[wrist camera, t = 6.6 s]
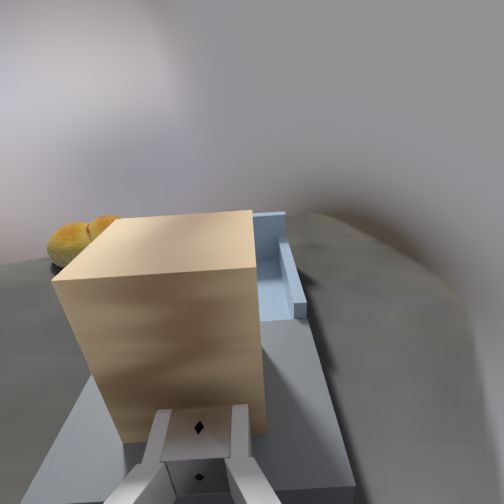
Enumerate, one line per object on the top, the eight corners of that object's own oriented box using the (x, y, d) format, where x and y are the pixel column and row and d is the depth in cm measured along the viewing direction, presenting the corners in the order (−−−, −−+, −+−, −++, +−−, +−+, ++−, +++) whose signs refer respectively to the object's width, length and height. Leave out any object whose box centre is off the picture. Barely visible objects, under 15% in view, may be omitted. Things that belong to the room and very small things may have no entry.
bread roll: (60, 248, 36) (47, 217, 34) (137, 233, 39) (129, 204, 37) (44, 281, 29) (27, 245, 27) (139, 261, 32) (130, 226, 30)
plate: (40, 532, 11) (18, 506, 11) (123, 354, 19) (115, 330, 19) (350, 513, 11) (356, 485, 10) (306, 342, 19) (307, 318, 18)
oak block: (122, 443, 12) (50, 280, 9) (154, 351, 17) (116, 219, 13) (267, 434, 12) (256, 267, 9) (260, 345, 17) (252, 210, 13)
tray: (125, 350, 20) (103, 288, 17) (164, 267, 30) (153, 220, 27) (305, 338, 20) (307, 274, 17) (285, 259, 29) (284, 211, 27)
